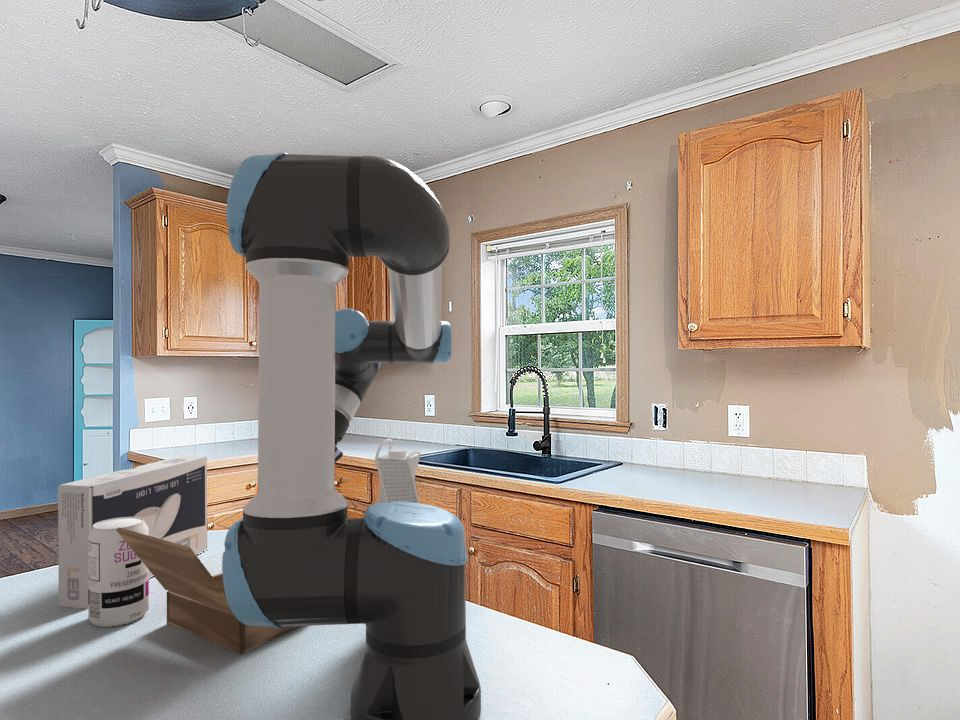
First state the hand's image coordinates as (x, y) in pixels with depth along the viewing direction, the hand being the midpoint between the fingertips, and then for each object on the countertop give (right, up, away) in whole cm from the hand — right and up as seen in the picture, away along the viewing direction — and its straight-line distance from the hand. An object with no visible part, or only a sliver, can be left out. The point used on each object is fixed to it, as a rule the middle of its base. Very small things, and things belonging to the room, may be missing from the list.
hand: (265, 534), depth 98 cm
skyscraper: (+21, -13, -3) cm, 25 cm away
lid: (-6, -7, -9) cm, 13 cm away
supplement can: (-22, -13, -2) cm, 26 cm away
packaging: (-29, -13, +17) cm, 36 cm away
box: (-2, -13, -3) cm, 13 cm away
